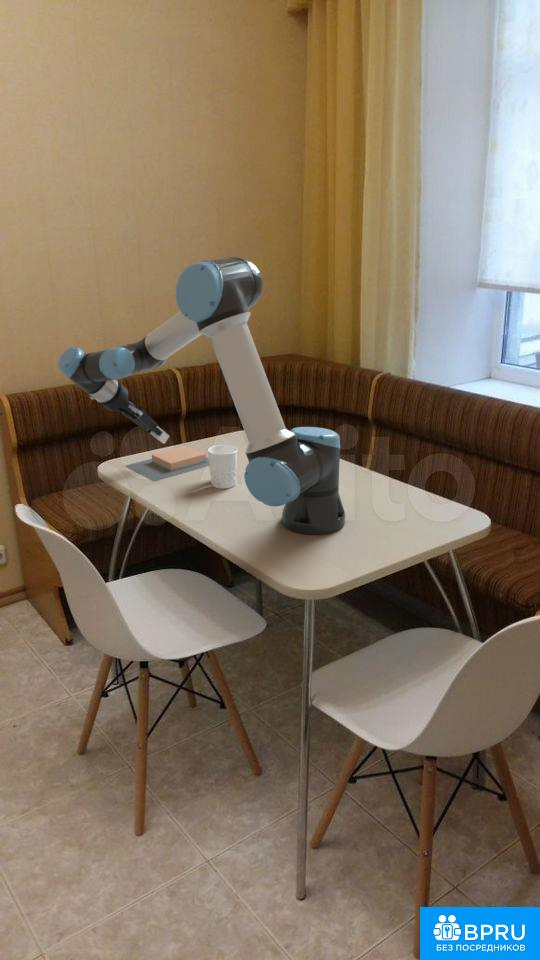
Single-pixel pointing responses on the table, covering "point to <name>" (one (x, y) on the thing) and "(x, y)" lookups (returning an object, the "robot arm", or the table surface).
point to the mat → (160, 469)
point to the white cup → (223, 466)
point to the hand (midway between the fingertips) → (165, 439)
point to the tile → (178, 458)
